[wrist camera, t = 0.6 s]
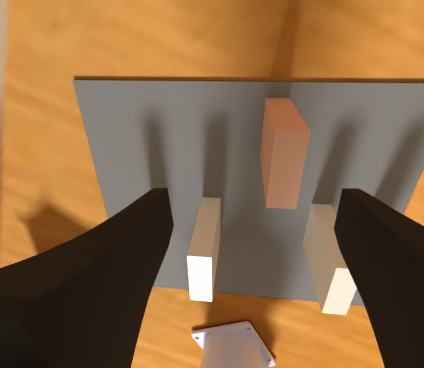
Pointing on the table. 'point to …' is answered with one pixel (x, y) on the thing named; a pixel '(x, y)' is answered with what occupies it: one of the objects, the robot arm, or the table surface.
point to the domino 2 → (282, 152)
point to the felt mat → (250, 164)
